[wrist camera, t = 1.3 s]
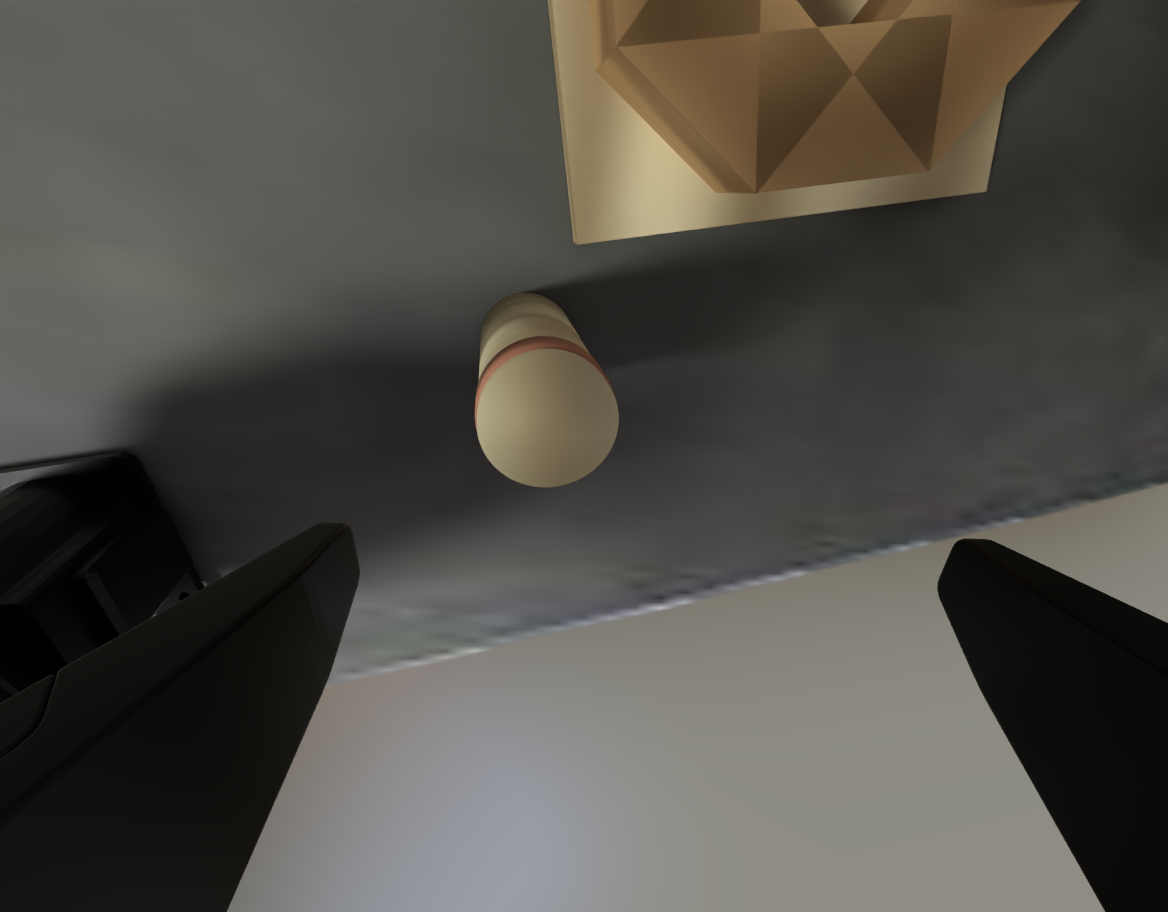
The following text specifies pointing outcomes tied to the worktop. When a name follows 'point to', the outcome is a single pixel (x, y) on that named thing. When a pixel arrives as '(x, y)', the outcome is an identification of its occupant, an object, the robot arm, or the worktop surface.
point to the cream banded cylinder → (541, 395)
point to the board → (672, 188)
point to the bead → (813, 81)
